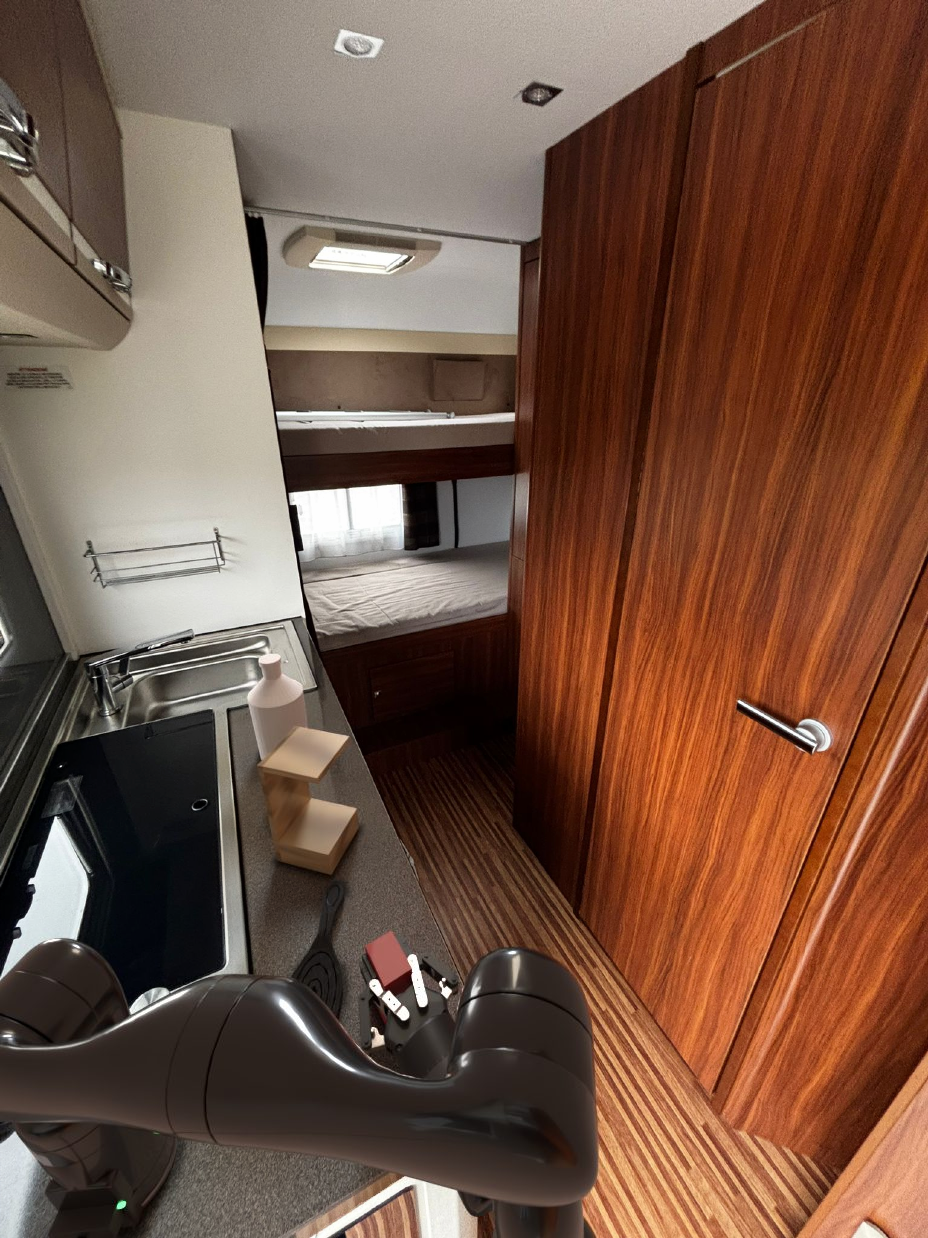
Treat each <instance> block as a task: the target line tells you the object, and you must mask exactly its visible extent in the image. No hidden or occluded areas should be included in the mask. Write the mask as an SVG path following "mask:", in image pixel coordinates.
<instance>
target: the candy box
mask: <svg viewBox="0 0 928 1238" xmlns="http://www.w3.org/2000/svg"><path fill="white" fill-rule="evenodd" d="M395 935H396V934H395V933H394V932H393V930H390V931H388V932H386V933H385V934H383V935H381V936H379V937H378V938H376V939H375V940H373V941H372V942H370V943H368V944H366V945H365V946H364V949H365V953H367V955H368V957H369V959H370V961H371V963H372V966H373V968H374V970H375V972H376V974H377V977H378V981H379V982H380V983H381V985H382V986H383V988H384V990H387V989H388V990H389V991H390V992H391V993H392V995H393V996H394V997H395V996H397V995H399V994H402V993H404V992H405V991H406V990H407V989H408V987H410V986H411V973H412V967H411V965H410V963H409V961H408V959H407V958H406V956H405V954H404V952H403V950H402V948H401V947H400V945H399V943H398V941H397V939H396V937H395ZM376 1007H377V1010H378V1012H379V1015H380V1017H381V1018H382V1022H383V1023H384V1025H385V1026H386V1019H387V1018H386V1017H385V1016H384V1015H383V1014H382V1012H381V1010H380V1008H379V1007H378V1006H377V1005H376Z"/></svg>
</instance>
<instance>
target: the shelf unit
mask: <svg viewBox="0 0 928 1238" xmlns="http://www.w3.org/2000/svg"><path fill="white" fill-rule="evenodd" d="M350 742H351V739H350V736H349V735H345V734H339V733H335V732H334V733H333V732H329V731H324V730H323V731H322V730H318V729H313V728H310V727H308V728H303V727H298V726H294V727H293V729H292V730H291V731H290V732H289V733H288V734H287V735H286V736H285V737H284V738H283V739H282V740H281V741H280V742H279V743H278V744H277V745H276V746H275V747H274V748H273V749H272V750H271V752H270V753H269V754H268V755H267V756H266V757H265V758H264V759H263V760H262V759H261V761H260V762H259V763H258V764H257V771H258V776H259V780H260V784H261V785H260V786H261V789H262V794H263V799H264V805H265V810H266V809H267V812H266V815H267V814H268V815H267V818H268V824H269V828H270V832H271V838H272V842H273V848H274V851H275V856H276V861H277V862H280V863H281V862H282V863H284V864H289V865H293V866H296V867H300V868H304V869H307V870H311V871H316V872H319V873H322V874H326V875H330V876H332V875H333V873H334V871H335V869H336V867H337V866H338V864H339V862H340V861H341V858H342V857H343V855H344V854H345V852H346V850H347V848H348V847H349V846H350V843H351V842H352V841H353V838H354V837H355V835H356V833H357V832H358V830H359V828H360V824H359V815H358V808H356V807H353V806H349V805H345V804H344V805H343V804H339V803H335V802H330V801H327V800H321V799H317V798H313V797H312V795H311V790H310V783H312V784H316V785H318V784H319V783H320V782H321V781H322V779H323V778H324V777H325V775H327V772H328V771H329V770H330V769H331V767H332V766H333V765H334V763H335V762H336V760H337V759H339V757H340V756H341V754H342V753H343V752H344V750H345V749H346V747H348V745H349V743H350Z"/></svg>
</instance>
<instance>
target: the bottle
mask: <svg viewBox="0 0 928 1238" xmlns="http://www.w3.org/2000/svg"><path fill="white" fill-rule="evenodd" d="M281 664H282V657H281V655H280V654H278V653H266V654H263V655H262V656H260V657H259V658H258V665H259V667H260V668H261V673H262V677H261V678H260V680H259V681H258V682H257V684H256V685H254V686H253V687H252V688H251V690H250V691H249V692H248V694H247V698H246V701H247V705H248V709H249V712H250V713H249V714H250V717H251V722H252V727H253V730H254V735H255V739H256V743H257V747H258V752H259V756H260V760H261V761H262V760H263V759H264V758H265V757H266V756H267V755H268V754H269V753H270V752H271V750H272V749H273V748H274V747H275V746H276V745H277V744H278V743H279V742H280V741H281V740H282V739H283V738H284V737H285V736H286V735H287V734H288V733H289V732H290V731H291V730H292V729H293V727H294V726H298V727H303V728H309V727H308V719H307V711H306V702H305V701H306V700H305V695H304V694H305V693H304V687H303V685H302V683H300V682H299V681H297V680H295V679H293V678H290V677H289V676H287V675H285V674H283V673H282V667H281Z"/></svg>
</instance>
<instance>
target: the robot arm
mask: <svg viewBox="0 0 928 1238" xmlns="http://www.w3.org/2000/svg"><path fill="white" fill-rule="evenodd" d="M394 935H395V937H396V939H397V941H398V943H399V945H400V947H401V948H402V950H403V952H404V954H405V956H406V958H407V959H408V961H409V963H410V965H411V967H412V973H411V986H410V987H408V989H407V990H406V991H405V992H404V993H402V994H399V995H397V996H395V997H394V996H393V995H392V993H391V992H390V991H389V990H388V989H387V990H384V988H383V986H382V985H381V983H380V982H379V981H378V977H377V974H376V972H375V970H374V968H373V966H372V963H371V961H370V959H369V957H368V955H367V953H366V952H364V954H362V955H361V961H359V968H360V974H361V976H362V979H363V981H364V983H365V985H366V989H365V990H364V991H362V992H360V993H359V995H358V996H357V1001H358V1003H357V1004H358V1016H359V1032H360V1045H361V1047H360V1046H359V1045H358V1044H357V1042H356V1041H355V1040H354V1039H353V1038H352V1036H351V1035H350V1034H349V1033H348V1031H347V1030H346V1028H345V1027H344V1026H343V1024H342V1023H341V1022H340V1021H339V1018H336V1017H335V1015H334V1014H333V1013H332V1012H331V1010H330V1009H329V1008H328V1006H327V1005H326V1004H325V1003H324V1002H323V1001H322V1000H321V998H322V997H321V998H320V997H319V996H318V995H317V992H315V990H311V989H310V988H309V987H308V986H306V985H305V984H304V983H302V982H300V981H298V980H297V979H293V978H291V977H289V976H285V975H275V974H273V975H272V974H270V975H269V974H251V973H249V974H248V973H247V974H246V973H221V974H216V975H211V976H207V977H204V978H201V979H199V980H196V981H193V982H191V983H189V984H186V985H185V986H182V987H181V988H179V989H175V990H174V991H172V992H170V993H168V994H166V995H163V997H160V998H158V999H157V1000H155V1001H153V1002H151V1003H149V1004H148V1005H146V1006H144V1007H142V1008H140V1009H139V1010H137V1011H135V1012H133V1013H131V1009H130V1007H129V1004H128V1000H127V998H126V995H125V992H124V989H123V986H122V984H121V981H120V979H119V977H118V975H117V974H116V972H115V970H114V969H113V967H112V965H111V964H110V963H109V961H108V960H106V958H105V957H104V956H103V955H102V954H101V953H100V952H98V950H96V949H95V948H94V947H92V946H90V945H89V944H86V943H85V942H82V941H80V940H77V939H74V938H69V937H55V938H50V939H47V940H44V941H41V942H39V943H38V944H37V945H35V946H33V947H32V948H31V949H30V950H28V951H27V952H26V953H24V955H23V956H22V957H21V958H20V959H19V960H18V962H16V964H15V965H14V966H13V967H12V968H11V969H10V970H8V972H6V974H5V975H4V976H3V977H2V978H1V979H0V1122H3V1123H11V1125H12V1127H13V1130H14V1132H15V1134H16V1135H17V1137H18V1138H19V1139H20V1141H21V1142H22V1143H23V1145H25V1147H26V1148H27V1149H28V1150H29V1152H30V1153H31V1155H32V1156H33V1157H34V1158H35V1160H36V1161H37V1163H38V1164H39V1165H40V1167H41V1168H42V1169H43V1170H44V1172H45V1173H46V1174H47V1175H48V1177H49V1180H48V1183H47V1185H46V1187H45V1189H44V1197H46V1199H47V1200H48V1201H49V1202H50V1204H51V1205H52V1206H53V1207H54V1208H55V1209H56V1211H57V1213H56V1215H55V1217H54V1220H53V1221H52V1224H51V1226H50V1229H49V1231H48V1232H47V1237H48V1238H117V1237H118V1233H119V1231H120V1228H121V1229H122V1228H131V1227H135V1226H138V1224H139V1223H140V1220H141V1217H142V1214H143V1213H144V1210H145V1208H146V1207H147V1206H148V1205H149V1204H150V1203H151V1202H152V1200H153V1199H155V1197H156V1195H157V1194H158V1193H159V1191H160V1190H161V1188H162V1187H163V1186H164V1184H165V1182H166V1180H167V1178H168V1176H169V1174H170V1172H171V1170H172V1167H173V1164H174V1162H175V1159H176V1156H177V1155H176V1154H177V1151H178V1144H179V1140H182V1141H186V1142H192V1143H197V1144H198V1143H199V1144H204V1145H205V1144H206V1145H212V1146H218V1147H225V1148H236V1149H247V1150H258V1151H259V1150H260V1151H268V1152H276V1153H278V1152H279V1153H287V1154H296V1155H297V1154H298V1155H302V1156H310V1157H317V1158H324V1159H330V1160H337V1161H342V1162H347V1163H351V1164H355V1165H361V1166H365V1167H368V1168H372V1169H377V1170H381V1171H384V1172H388V1173H392V1174H396V1175H399V1176H402V1177H407V1178H410V1179H414V1180H417V1181H420V1182H424V1183H428V1184H431V1185H436V1186H439V1187H442V1188H446V1189H450V1190H454V1191H456V1193H457V1195H458V1197H459V1199H460V1201H461V1203H462V1205H463V1207H464V1208H465V1210H466V1211H467V1212H468V1214H469V1215H470V1216H472V1217H474V1218H480V1217H483V1216H486V1215H488V1214H490V1213H492V1216H493V1217H492V1218H493V1223H494V1224H493V1225H494V1228H493V1232H492V1234H491V1235H492V1236H491V1238H597V1236H596V1233H595V1231H594V1229H593V1228H592V1226H591V1224H590V1223H589V1221H588V1219H586V1217H585V1216H584V1205H583V1199H584V1198H586V1197H587V1196H588V1195H589V1194H590V1193H591V1192H592V1189H593V1188H594V1187H595V1184H596V1183H597V1179H598V1176H599V1163H600V1141H599V1122H598V1121H599V1120H598V1109H597V1105H598V1103H597V1087H596V1086H597V1085H596V1065H595V1037H594V1028H593V1020H592V1015H591V1010H590V1006H589V1002H588V999H587V997H586V994H585V991H584V988H583V987H582V985H581V984H580V982H579V980H578V979H577V977H576V976H575V974H573V972H572V971H571V970H570V969H569V967H568V966H566V965H565V964H564V963H563V962H561V961H560V960H559V959H557V958H555V957H554V956H552V955H551V954H548V953H546V952H544V951H541V950H537V949H534V948H529V947H524V946H507V947H499V948H496V949H493V950H490V951H488V952H487V953H486V954H484V955H483V956H481V957H480V958H479V959H478V960H477V961H476V962H475V964H473V966H472V967H471V969H470V971H469V972H468V974H467V976H466V978H465V980H464V983H463V986H462V988H461V993H460V997H459V999H458V1003H457V1007H456V1012H455V1019H453V1016H452V1015H451V1013H450V1011H449V1007H448V1002H449V1001H450V1000H451V998H452V997H453V996H456V995H458V993H459V979H460V978H459V976H458V975H457V974H456V973H455V972H454V971H452V969H450V968H449V967H447V966H446V964H444V963H443V962H441V960H439V959H438V958H437V957H436V956H435V955H433V954H432V953H431V952H430V951H428V950H425V951H423V952H422V953H421V954H418V955H416V954H414V952H413V950H412V949H411V947H410V945H409V943H408V942H407V940H406V938H405V937H403V936H402V935H401V936H399V934H394ZM422 971H423V972H425V973H426V974H427V975H428V976H429V977H430V978H432V980H434V981H435V982H436V983H437V984H438V985H439V990H440V992H438V991H436V990H434V989H432V988H429V987H426V986H425V985H424V981H423V976H422ZM373 1003H374V1004H375V1005H376V1007H377V1006H378V1007H379V1008H380V1010H381V1012H382V1014H383V1015H384V1016H385V1017H386V1018H387V1019H386V1025H385V1027H384V1032H383V1035H381V1034H380V1033H379V1031H378V1028H376V1027H374V1026H373V1027H372V1024H371V1012H370V1011H371V1010H370V1007H371V1006H372V1005H373ZM381 1050H386V1051H387V1052H388V1053H389V1054H390V1055H392V1056H393V1057H394V1059H395V1061H396V1064H397V1066H398V1068H399V1070H400V1072H401V1073H399V1072H397V1071H394V1070H392V1069H390V1068H388V1067H385V1066H383V1065H381V1064H379V1063H378V1062H377V1061H375V1060H374V1059H373V1058H372V1056H373V1054H374V1053H375V1052H378V1051H381Z"/></svg>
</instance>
